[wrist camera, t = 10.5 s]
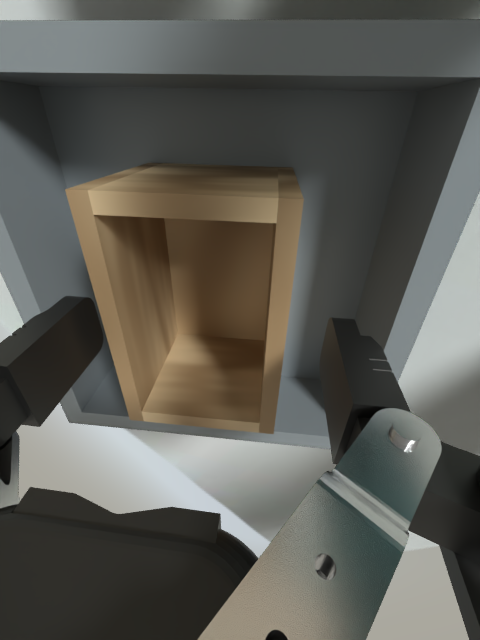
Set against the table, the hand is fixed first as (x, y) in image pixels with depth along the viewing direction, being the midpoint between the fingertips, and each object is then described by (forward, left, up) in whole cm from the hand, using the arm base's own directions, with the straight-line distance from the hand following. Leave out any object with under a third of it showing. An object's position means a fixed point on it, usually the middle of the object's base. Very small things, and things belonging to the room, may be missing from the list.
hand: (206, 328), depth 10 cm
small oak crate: (0, 0, -5) cm, 5 cm away
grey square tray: (0, 0, -6) cm, 6 cm away
